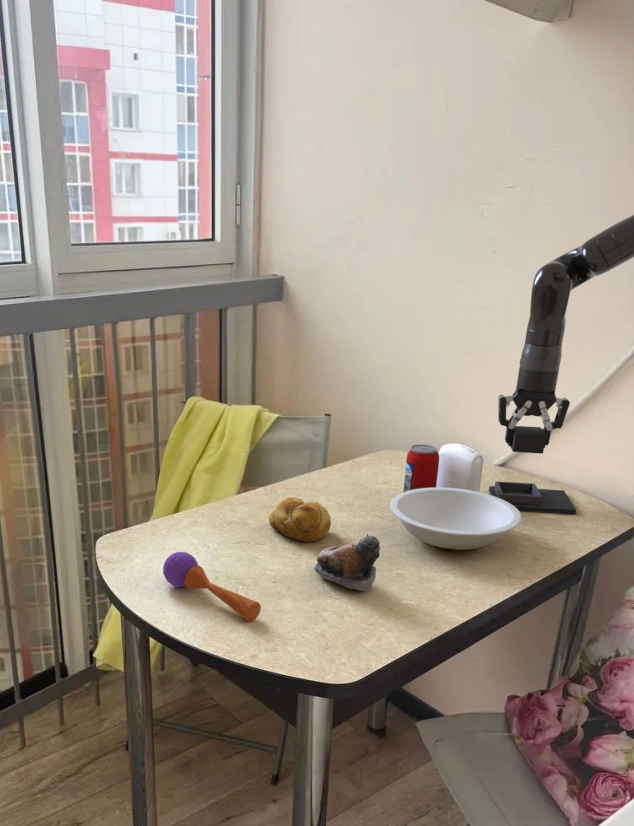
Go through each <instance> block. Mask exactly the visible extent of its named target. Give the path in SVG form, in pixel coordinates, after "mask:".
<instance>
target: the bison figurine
mask: <svg viewBox="0 0 634 826" xmlns="http://www.w3.org/2000/svg"><path fill="white" fill-rule="evenodd" d="M380 545H381V539H378V537H376V536H373V535H369V534H368V533H367V534H366V535H365V536H364V537H362V538H361V539H359V540H358V543H357V544H354V543H348V544H347V543H346V544H345V545H342V546H340V547H338V546H336V545H332V546H330V547H327V548H324V549H322V550H321V551H320V553H319V554H318V555H317V557H316V562H317V563H316V564H315V565H314V569H313V570H314V571H315V573H317V575H319V576H320V577H321V578H322V579H324V580H327V581H329V582H332V583H335V584H338V585H340V586H343V587H344V588H348V589H352V590H356V591H361V592H364V591H369V590H370V589H371V587H372V585H373V584H374V582H375V580H376V576H377V567H376V566H375V562H376V561H377V559H379V558H380V550H381V546H380Z"/></svg>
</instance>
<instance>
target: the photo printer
mask: <svg viewBox="0 0 634 826" xmlns="http://www.w3.org/2000/svg"><path fill="white" fill-rule="evenodd" d="M438 454H439V467H438V476H437V484H436V487H443V488H458V489H466V490H472V491H477V492H481V491H480V489H481V481H482V475H483V467H484V457H483V455H482V454H481V453H479V452H478V451H477V450H476V449H474V448H472V447H469V446H467V445H464V444H461V443H448V444H444V445H442V446H441V448H440V449H439V452H438Z"/></svg>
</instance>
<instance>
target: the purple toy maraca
mask: <svg viewBox="0 0 634 826" xmlns="http://www.w3.org/2000/svg"><path fill="white" fill-rule="evenodd" d="M162 573H163V577H164V579H165V580H166V582H168V584H170V585H172V586H174V587H176V588H187V589H189V590H190V589H191V590H197V589H200V590H201V589H206V590H208V591H209V592H210V593H211V594H213V595H214V596H215V597H217V598H218V599H219V600H221V601H222V602H223V603H224V604H225V605H227V606H228V607H229V608H230V609H232V610H233V612H235V613H237V614H238V615H239V616H241V617H242V618H243V619H244V620H246V621H247V622H253V621H254V620H256V619H257V618H258V617H259V615H260V613H261V609H262V607H261V604H260V602H258V601H257V600H253V599H251V598H249V597H246V596H244V595H241V594H239V593H236V592H234V591H232V590H230V589H227V588H225V587H222V586H220V585H216V584H214V583H212V582H210V580H209V577H208V576H207V574H206V572H205V570H204V568H203V567H202V566H201V565H199V564H198V561H197V560H196V558H195V557H194V556H193V555H192V554H190V553H188V552H186V551H176V552H173V553H171V554H170V555H169V556H167V558H166V559H165V561H164V563H163V567H162Z"/></svg>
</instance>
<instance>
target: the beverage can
mask: <svg viewBox="0 0 634 826" xmlns="http://www.w3.org/2000/svg"><path fill="white" fill-rule="evenodd" d="M405 461H406V462H405V470H404V481H403V482H404V483H403V492H406V491H410V490H414V489H421V488H435V487H436V484H437V476H438V467H439V452H438V448H437V447H435V446H434V445H430V444H413V445H412V446H410V449H409V451H408V452H407V453H406V460H405ZM403 492H402V493H403Z"/></svg>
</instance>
